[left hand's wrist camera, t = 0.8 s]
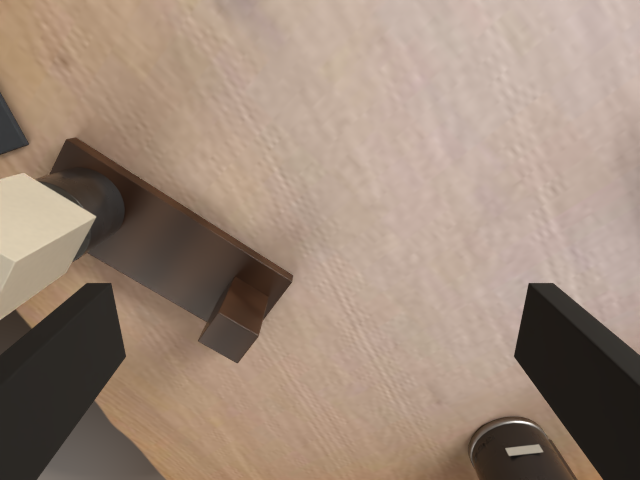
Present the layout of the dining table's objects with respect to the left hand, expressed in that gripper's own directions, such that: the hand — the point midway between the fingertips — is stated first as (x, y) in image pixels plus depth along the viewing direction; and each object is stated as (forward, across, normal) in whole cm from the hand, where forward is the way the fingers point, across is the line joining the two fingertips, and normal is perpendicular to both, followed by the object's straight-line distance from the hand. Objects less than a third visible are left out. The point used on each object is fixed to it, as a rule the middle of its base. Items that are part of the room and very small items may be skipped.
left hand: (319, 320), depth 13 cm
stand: (+26, -15, -8) cm, 31 cm away
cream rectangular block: (+19, -22, -3) cm, 29 cm away
